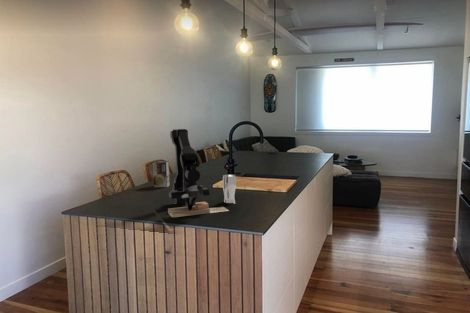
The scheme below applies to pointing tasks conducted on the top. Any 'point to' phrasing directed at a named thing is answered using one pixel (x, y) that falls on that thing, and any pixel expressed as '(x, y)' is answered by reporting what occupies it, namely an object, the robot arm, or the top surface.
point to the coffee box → (161, 173)
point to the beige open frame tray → (193, 211)
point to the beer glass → (229, 188)
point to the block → (201, 205)
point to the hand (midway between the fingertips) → (190, 210)
